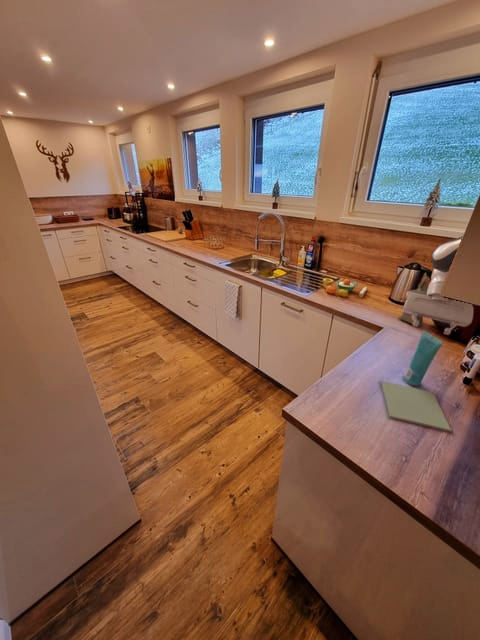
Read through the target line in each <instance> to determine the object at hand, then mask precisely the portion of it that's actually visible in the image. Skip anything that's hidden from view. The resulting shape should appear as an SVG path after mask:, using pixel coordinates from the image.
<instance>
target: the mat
mask: <svg viewBox="0 0 480 640" xmlns="http://www.w3.org/2000/svg"><path fill="white" fill-rule="evenodd" d="M381 387H382V391H383V395H384V399H385V404H386V408H387V412H388V414H389V418H390V419H395V420H399V421H402V422H407V423H412V424H415V425H420V426H422V427H423V426H424V427H427V428H431V429H436V430H440V431H444V432H449V433H451V432H452V429H451V426H450V425H449V422H448V420H447V418H446V416H445V414H444V411H443V410H442V407H441V405H440V403H439V401H438V399H437V397H436V395H435V394H434V391H429V390H424V389H419V388H414V387H410V386H405V385H400V384H397V383H396V384H395V383H391V382H386V381H381Z"/></svg>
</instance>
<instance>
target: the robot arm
mask: <svg viewBox="0 0 480 640" xmlns="http://www.w3.org/2000/svg"><path fill="white" fill-rule="evenodd" d="M463 236H464V235H462V236H459V237H457V238H454V239H451V240H449V241H446V242H444V243H442V244H440V245H439V246H438V247H436V249H434V251H433V252H432V255H431V265H432V268H433V270H432V273H431V276H430V279H431V281H430V283H428V285H427V290H426V292H422V291H417V290H416V289H412V290H409V291H407V292H406V294H405V303H404V305H403V306H402V313H403V312H404V313H408V314H412V319H413V322H414V323H413V325H412V327H416V328H418V327H419V326H418V325H419V321H417V319H416V317H417V316H421V317H423V318H424V319H429V320H434V321H438V322H443V323H446V324H449V327H445V328H444V330H443V334H444V335H447V336H449V335H450V334H451V332H452V330H454V328H456V327H457V326H459V327H463V328H465V327H468V326H470V325H471V324H472V322H473V318H474V306H473V304H472V303H471V304H468V303H464V302H460V301H456V300H452V299H448V298H444V297H441V296H440V292H441V289H442V287H443V284H444V281H445V278H446V276H447V274H448V271H449V268H450V266H451V264H452V261H453V259H454V257H455V254H456V252H457V249H458V247H459V244H460V242H461V239H462V237H463Z"/></svg>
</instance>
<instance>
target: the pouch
mask: <svg viewBox="0 0 480 640" xmlns="http://www.w3.org/2000/svg"><path fill="white" fill-rule="evenodd" d="M428 284H429V283H428V273H427V272H425V273H423V276H422V278H421V279H420V281H419V283H418V284H417V288H416V289H415V290H417V291H422V292H427V289H428ZM416 319H417V321H419V325H418V327H421V326H422V325H423V320H424V317H421V316H417V317H416ZM399 320H400V321H404V322H407V323H409V324H411V325H412V326H413V323H414V322H413V319H412V314H408V313H404V312H403V311H402V313H401V315H400V317H399Z"/></svg>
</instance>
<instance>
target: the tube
mask: <svg viewBox="0 0 480 640" xmlns="http://www.w3.org/2000/svg"><path fill="white" fill-rule="evenodd" d="M444 343H445V342H444V341H442V340H441V339H439V338H437V337H436V336H434V335H433V334H431V333H429V332H427V331H425V330H424V329H423V330H422V333H421V335H420V338H419V341H418V344H417V347H416V349H415V352H414V354H413V356H412V359H411V360H410V364H409V367H408V369H407V371H406V374H405V376H404V381H405V382H406V383H407V384H409V385H411V386H414V387H415V386H416V387H418V386H420V385H421V383H422V381H423V379H424V377H425V375H426V373H427V371H428V369H429V368H430V366H431V364H432V362H433V360H434V359H435V357H436V356H437V353H438V352H439V350H440V348H441V347H442V346H443V344H444Z"/></svg>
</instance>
